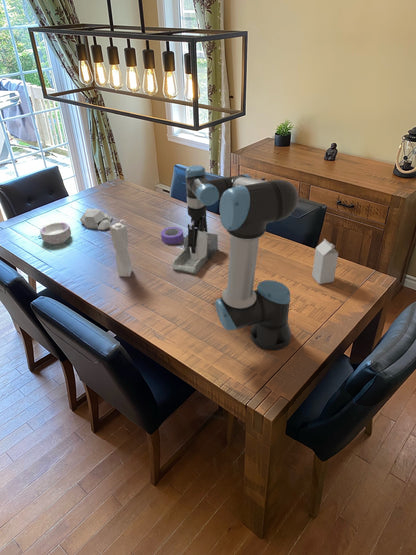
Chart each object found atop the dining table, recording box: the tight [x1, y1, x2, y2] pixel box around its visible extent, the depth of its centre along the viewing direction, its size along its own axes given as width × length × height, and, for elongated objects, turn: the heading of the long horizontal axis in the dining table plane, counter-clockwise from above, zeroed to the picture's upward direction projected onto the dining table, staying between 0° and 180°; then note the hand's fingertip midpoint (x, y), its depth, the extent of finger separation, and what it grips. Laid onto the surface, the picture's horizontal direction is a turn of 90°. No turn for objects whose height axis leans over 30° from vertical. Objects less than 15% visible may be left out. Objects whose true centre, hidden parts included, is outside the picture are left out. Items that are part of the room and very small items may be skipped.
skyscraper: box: [109, 219, 133, 277], centre depth 190 cm, size 8×8×28 cm
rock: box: [79, 208, 113, 231], centre depth 238 cm, size 18×20×10 cm
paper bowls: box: [39, 221, 72, 245], centre depth 224 cm, size 15×15×8 cm
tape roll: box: [160, 226, 185, 245], centre depth 223 cm, size 12×12×5 cm
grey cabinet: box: [171, 232, 219, 275], centre depth 203 cm, size 26×14×11 cm, turn 157°
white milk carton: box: [311, 238, 339, 285], centre depth 184 cm, size 7×7×19 cm
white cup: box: [190, 230, 208, 259], centre depth 177 cm, size 8×8×10 cm
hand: (198, 253), depth 180 cm, fingers closed on white cup, 7 cm apart
